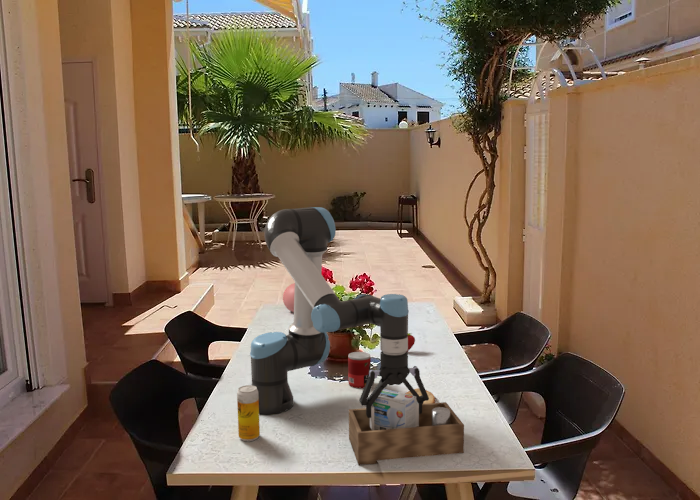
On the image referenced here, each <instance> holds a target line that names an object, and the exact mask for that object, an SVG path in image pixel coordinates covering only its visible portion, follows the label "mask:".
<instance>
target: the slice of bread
mask: <svg viewBox="0 0 700 500" xmlns="http://www.w3.org/2000/svg"><path fill="white" fill-rule="evenodd" d="M413 389H414V390H415V391H416V392H417V394H418V395H419V396H422V394H421V391H420V389H419V387H417V388H413ZM425 390H426V392H427V395H428V397H429V400H428V401H424V402H423V404H428V403H437V402H436V400H437V399H436V398H435V397H436V396H435V395H434V394H433V392H431V391H429V390H427V389H425ZM404 394H409V395H412V393H411V392H410V391H409V390H408V391H406V392H404ZM416 401H417V400H416Z"/></svg>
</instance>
